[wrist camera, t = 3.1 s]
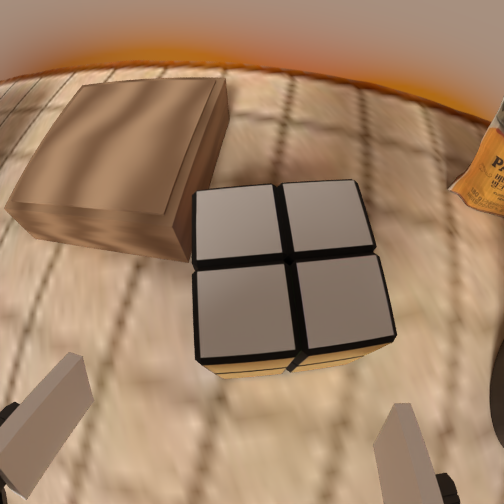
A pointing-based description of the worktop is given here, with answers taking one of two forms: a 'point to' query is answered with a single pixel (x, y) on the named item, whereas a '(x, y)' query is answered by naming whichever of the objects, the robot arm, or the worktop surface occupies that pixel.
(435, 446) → the worktop surface
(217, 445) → the worktop surface
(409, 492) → the robot arm
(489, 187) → the pancake mix bag
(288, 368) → the puzzle cube
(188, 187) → the block
